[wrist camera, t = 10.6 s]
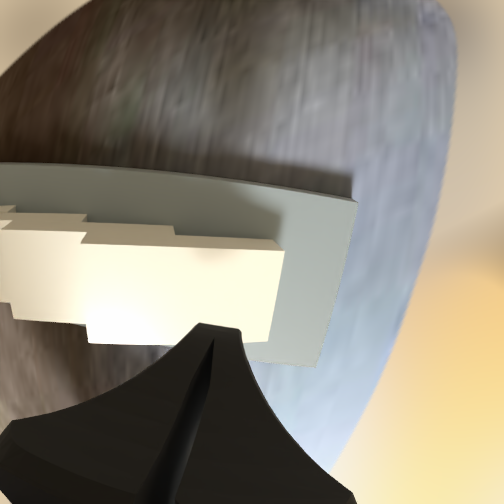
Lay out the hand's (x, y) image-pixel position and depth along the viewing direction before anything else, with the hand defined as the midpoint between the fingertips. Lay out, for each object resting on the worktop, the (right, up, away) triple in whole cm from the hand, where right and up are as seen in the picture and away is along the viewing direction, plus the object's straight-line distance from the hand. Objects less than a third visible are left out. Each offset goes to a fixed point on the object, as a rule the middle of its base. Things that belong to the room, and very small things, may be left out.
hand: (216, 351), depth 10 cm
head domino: (+2, +1, +5) cm, 5 cm away
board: (-6, +3, +6) cm, 9 cm away
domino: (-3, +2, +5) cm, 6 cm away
